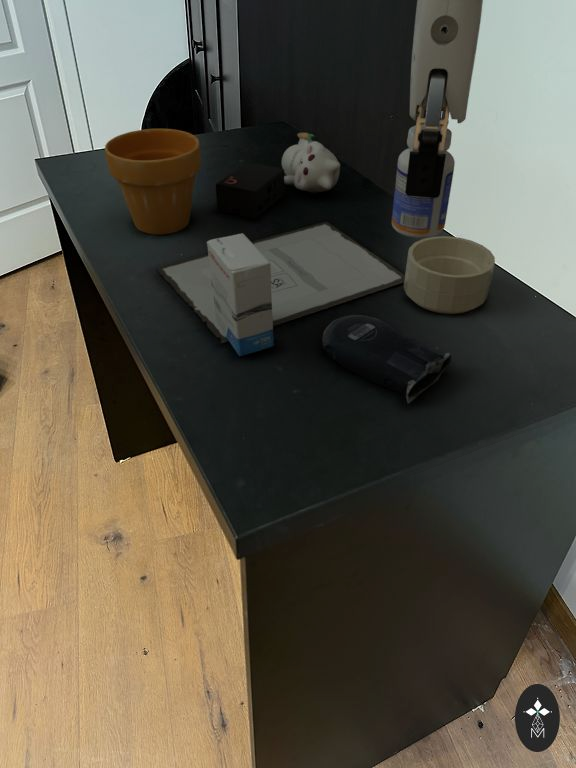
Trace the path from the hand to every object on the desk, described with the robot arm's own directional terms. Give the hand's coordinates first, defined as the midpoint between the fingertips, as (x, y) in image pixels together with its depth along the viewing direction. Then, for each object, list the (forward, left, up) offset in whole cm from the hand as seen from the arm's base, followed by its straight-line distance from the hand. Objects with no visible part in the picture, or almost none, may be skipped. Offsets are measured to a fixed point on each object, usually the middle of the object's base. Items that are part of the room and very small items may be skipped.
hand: (424, 181), depth 64 cm
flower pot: (+42, -29, -23) cm, 55 cm away
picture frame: (+19, -17, -22) cm, 34 cm away
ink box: (+20, -1, -22) cm, 30 cm away
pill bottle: (0, 0, -5) cm, 5 cm away
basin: (-4, -17, -22) cm, 29 cm away
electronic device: (+29, -40, -23) cm, 54 cm away
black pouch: (+3, 0, -23) cm, 23 cm away
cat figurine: (+21, -49, -23) cm, 57 cm away
